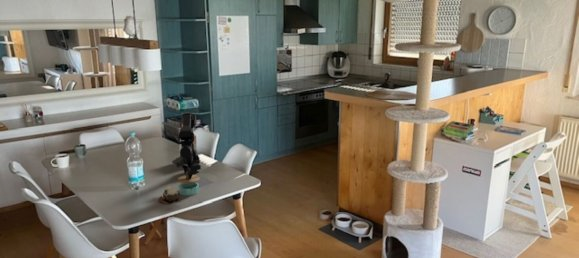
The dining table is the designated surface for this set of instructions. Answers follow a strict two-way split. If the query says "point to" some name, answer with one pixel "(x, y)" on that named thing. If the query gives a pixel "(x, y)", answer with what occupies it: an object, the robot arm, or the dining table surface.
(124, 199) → the dining table surface
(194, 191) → the bowl
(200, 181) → the mat
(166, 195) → the skull
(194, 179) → the lid
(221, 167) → the dining table surface
